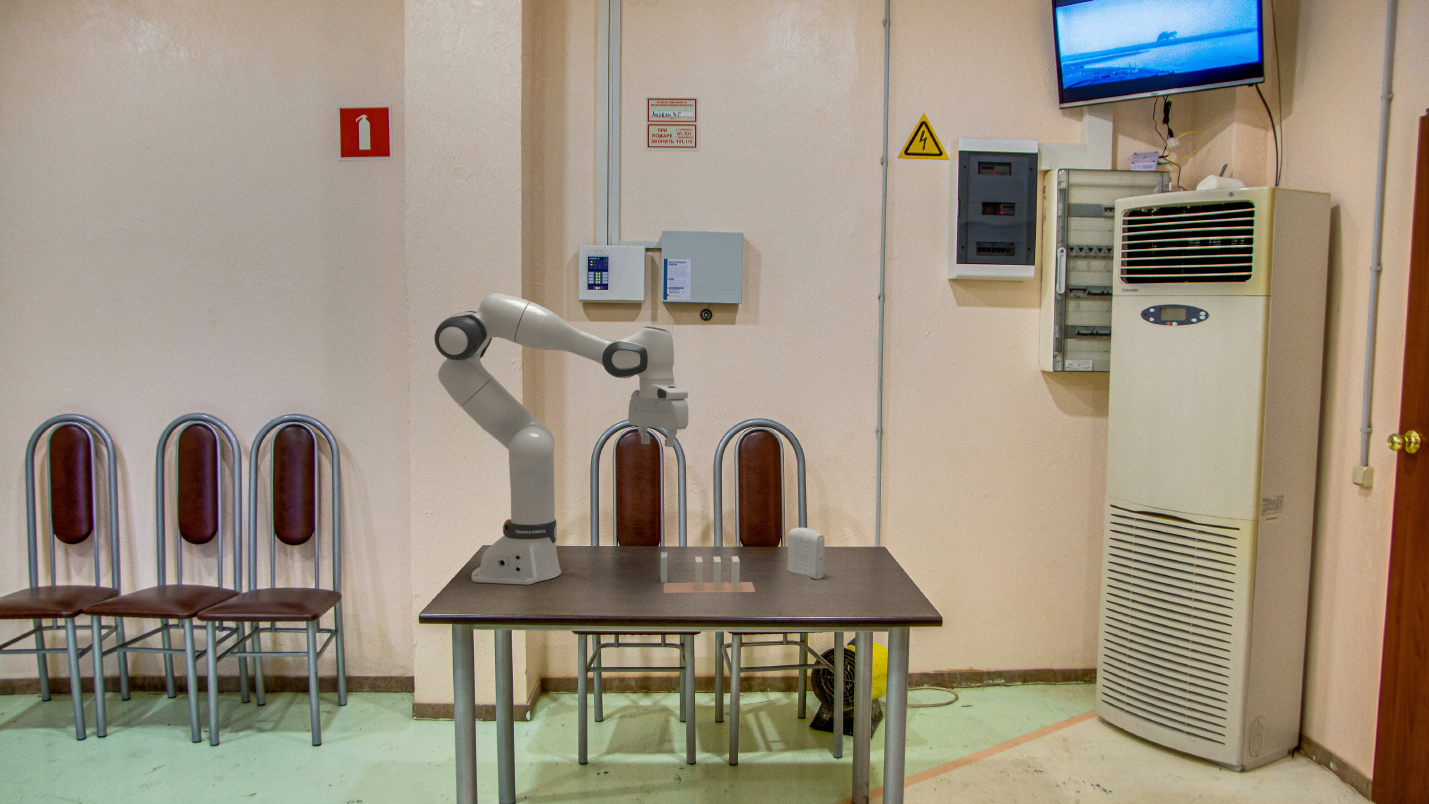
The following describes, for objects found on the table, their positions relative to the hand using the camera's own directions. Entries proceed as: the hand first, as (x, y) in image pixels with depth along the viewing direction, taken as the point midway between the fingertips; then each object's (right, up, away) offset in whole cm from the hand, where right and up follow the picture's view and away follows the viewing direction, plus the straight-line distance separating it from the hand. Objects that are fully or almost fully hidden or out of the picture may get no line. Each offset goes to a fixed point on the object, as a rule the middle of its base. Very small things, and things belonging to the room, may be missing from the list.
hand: (657, 445), depth 200 cm
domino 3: (+15, -34, -8) cm, 38 cm away
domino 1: (+2, -35, -2) cm, 35 cm away
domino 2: (+11, -34, -8) cm, 37 cm away
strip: (+13, -35, -8) cm, 38 cm away
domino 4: (+20, -34, -8) cm, 40 cm away
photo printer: (+38, -35, +5) cm, 52 cm away
